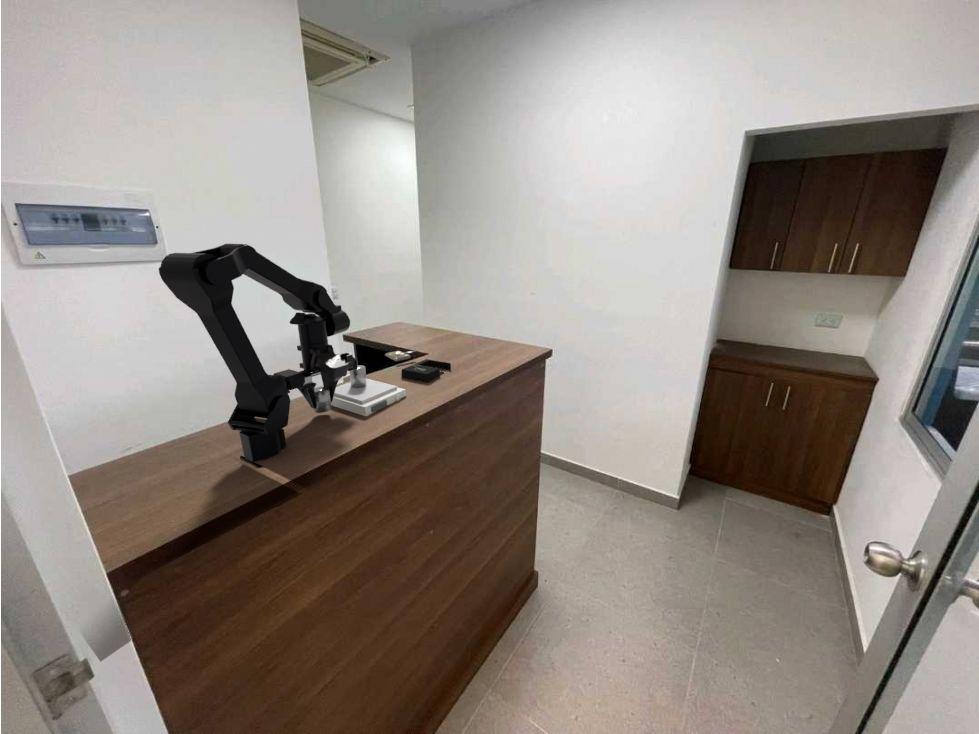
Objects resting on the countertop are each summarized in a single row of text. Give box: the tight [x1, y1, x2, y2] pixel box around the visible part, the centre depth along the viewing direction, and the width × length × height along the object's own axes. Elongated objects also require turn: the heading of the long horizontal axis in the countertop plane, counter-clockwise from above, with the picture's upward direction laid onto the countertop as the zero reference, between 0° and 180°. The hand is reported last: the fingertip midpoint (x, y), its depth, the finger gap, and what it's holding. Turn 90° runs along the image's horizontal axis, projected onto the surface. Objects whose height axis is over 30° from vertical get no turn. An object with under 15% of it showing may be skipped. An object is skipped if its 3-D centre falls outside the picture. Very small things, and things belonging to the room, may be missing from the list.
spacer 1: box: [312, 386, 332, 414], centre depth 90 cm, size 4×4×5 cm
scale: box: [331, 377, 407, 417], centre depth 100 cm, size 14×16×3 cm
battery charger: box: [400, 358, 452, 384], centre depth 118 cm, size 13×10×4 cm
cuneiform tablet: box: [384, 350, 417, 362], centre depth 133 cm, size 7×4×12 cm
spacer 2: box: [349, 365, 367, 388], centre depth 101 cm, size 4×4×5 cm
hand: (322, 405), depth 90 cm, fingers closed on spacer 1, 4 cm apart
